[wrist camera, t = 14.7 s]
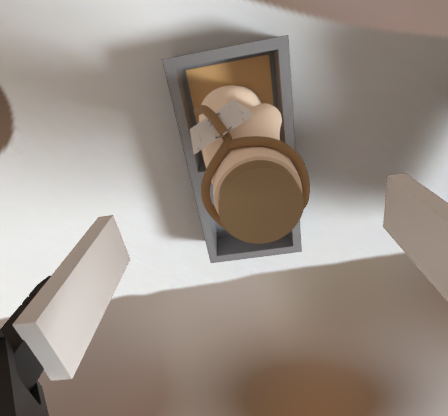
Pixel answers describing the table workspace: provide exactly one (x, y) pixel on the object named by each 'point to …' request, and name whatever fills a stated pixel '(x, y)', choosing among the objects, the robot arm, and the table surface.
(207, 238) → the bottle caddy
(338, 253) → the table surface
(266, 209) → the water bottle
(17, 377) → the robot arm
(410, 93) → the table surface
